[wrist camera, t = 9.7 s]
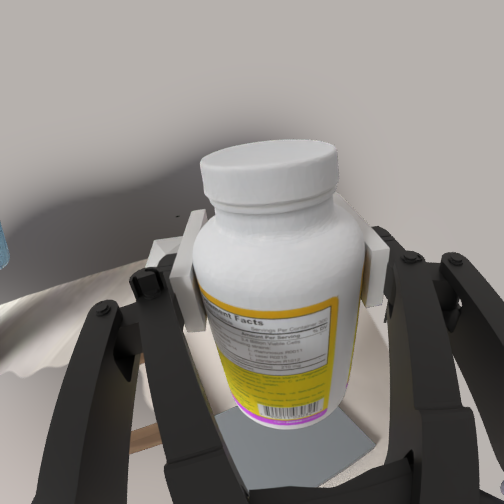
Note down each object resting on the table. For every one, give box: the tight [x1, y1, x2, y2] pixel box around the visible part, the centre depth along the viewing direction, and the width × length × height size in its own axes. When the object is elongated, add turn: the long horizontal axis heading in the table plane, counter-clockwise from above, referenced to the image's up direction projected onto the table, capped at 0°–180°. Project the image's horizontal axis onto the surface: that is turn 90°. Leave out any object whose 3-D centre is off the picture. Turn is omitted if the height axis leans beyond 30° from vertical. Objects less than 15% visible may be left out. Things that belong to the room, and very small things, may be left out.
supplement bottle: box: [192, 140, 365, 429], centre depth 13 cm, size 7×7×13 cm
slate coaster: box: [214, 406, 376, 492], centre depth 20 cm, size 10×10×1 cm
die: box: [145, 236, 183, 268], centre depth 39 cm, size 8×9×10 cm
